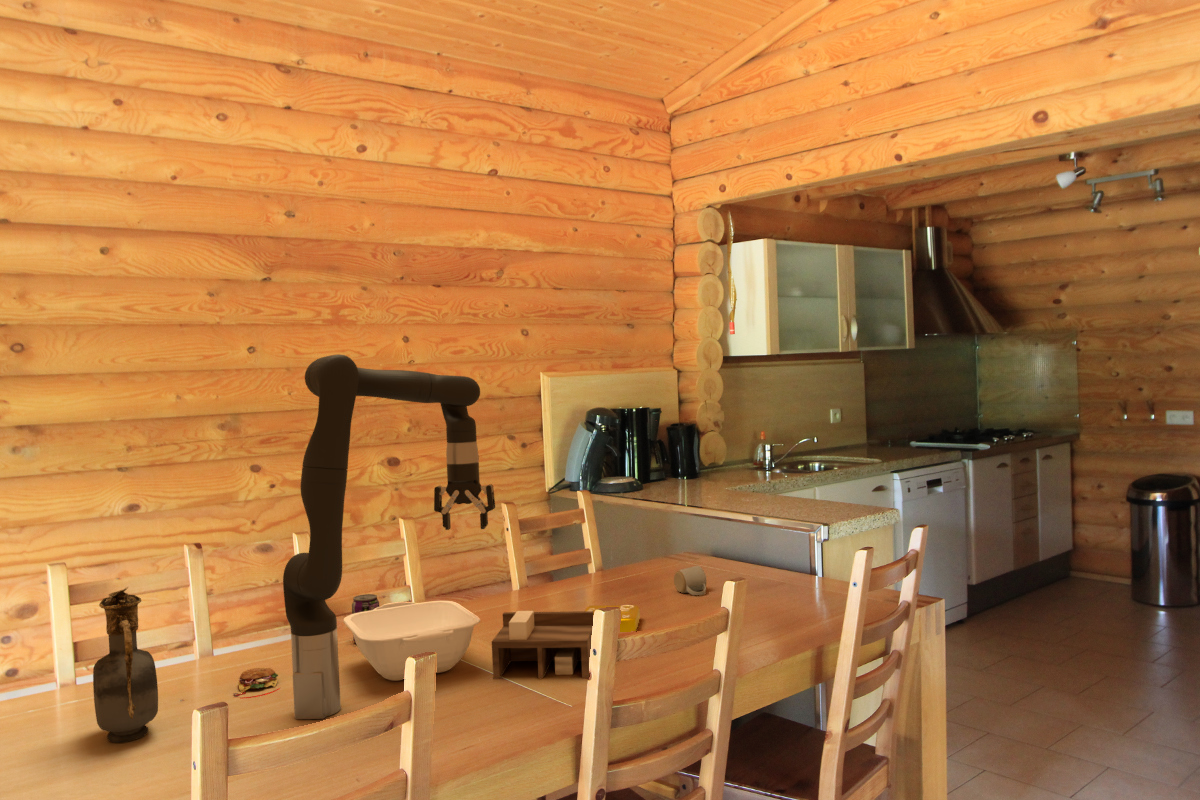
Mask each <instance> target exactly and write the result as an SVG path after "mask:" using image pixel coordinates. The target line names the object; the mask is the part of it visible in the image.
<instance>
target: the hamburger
mask: <svg viewBox="0 0 1200 800" xmlns="http://www.w3.org/2000/svg"><path fill="white" fill-rule="evenodd" d="M277 677H279V674H278V673H276V672H275V670H274V669H273V668H271V667H261V668H260V667H256V668H255V667H253V668H250V669H247V670H245V671H243V672H242V673H240V676H239V677H238V679H239V680H238V682H237V685H238V689H239V691H240V693H237V692H235V693H233V694H234V695H235V696H234V695H233V696H234V697H239V698H240V699H243V700H244V699H252V698H257V697H258V698H259V697H262V696H266V695H269V694H272V693H275V692H278V691H279V690H280V689H281V687H278V688H276V685H277V684H278V683H277V682H278V678H277ZM270 686H272V687H274V688H276V689H274V690H272V691H270V692H267V693H262V694H258V695H252V696H245V695H246V694H247V690H258V689H264V688H268V687H270ZM243 692H244V693H243ZM241 693H242V694H241ZM242 695H244V696H243V697H240V696H242ZM240 699H239V700H240Z"/></svg>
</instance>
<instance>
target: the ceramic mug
mask: <svg viewBox="0 0 1200 800" xmlns="http://www.w3.org/2000/svg"><path fill="white" fill-rule="evenodd" d="M673 583H674V587H675V588H676V590H677V591H678V592H679V593H680V592H681V594H687V593H688V594H690V595H692V596H694V595H702V596H705V594H706V592H707V575H706V572H705V571H704V569H703V568H702V566H700V565H694V566H690V567H686V568H681V569H679V570H676V571H675V573H674V575H673Z"/></svg>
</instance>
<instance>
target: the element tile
mask: <svg viewBox="0 0 1200 800" xmlns="http://www.w3.org/2000/svg"><path fill="white" fill-rule="evenodd" d="M606 607H619V608H620V610H621V624H620V632H631V631H638V629H637V627H638V628H639V626H638V623H639V624H640V622H639V619H640V620H641V614H640V613H641V610H640V606H638V605H637V604H632V605H631V604H624V605H623V604H621V605H620V604H616V605H614V604H613V605H611V604H610V605H606V604H605V605H589V606H587V607H585V609H584V611H593V612H594V610H595V609H598V608H606ZM636 629H637V630H636Z"/></svg>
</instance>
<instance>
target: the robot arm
mask: <svg viewBox="0 0 1200 800" xmlns="http://www.w3.org/2000/svg"><path fill="white" fill-rule="evenodd" d="M304 382H305V385H306V387H307V389H308V390H309V392H311V394H313V395H315V396H317V397H318V406H317V407H318V408H317V409H318V410H317V418H316V422H315V426H314V429H313V430H312V433H311V436H310V438H309V441H308V444H307V447H306V449H305V451H304V455H303V460H302V464H301V465H302V467H301V476H300V477H301V478H300V495H301V500H302V503H303V508H304V510H305V511H304V512H305V513H306V518H307V520H308V524H309V525H308V526H309V548H308V552H300V553H297V554H295V555H293V556H292V557H291V558H290V559H289V560H288V561H287V563H286V565H285V567H284V570H283V575H282V576H283V577H282V588H283V597H284V599H283V601H284V609H285V617H286V619H287V622H288V623H289V626H290V639H291V641H290V643H291V644H290V645H291V662H292V663H291V664H292V689H293V707H294V708H293V711H294V713H293V714H294V719H295V720H324V719H325V718H327V717H330V716H332V715H334V714H336V713H338V712H340V710H341V709H342V708H341V704H342V703H341V687H340V686H341V685H340V684H341V683H340V665H339V664H340V663H339V647H338V646H339V643H338V642H339V641H338V623H337V622H338V621H337V620H338V619H337V616H336V614H335V612H334V611H333V610H332V609H331V608H330V607H329V606H328V603H327V602H326V600H329V599H331V598H332V597H333V596H334V595H335V594H336V592H337V591H338V589H339V587H340V585H341V582H342V577H343V522H344V511H345V510H344V508H345V497H346V496H345V495H346V490H347V489H346V488H347V483H348V482H347V480H348V467H349V452H350V443H351V441H350V440H351V429H352V428H351V427H352V421H353V420H352V419H353V413H354V407H355V404H356V403H355V402H356V398H357V397H370V398H372V397H373V398H378V399H379V398H381V399H388V400H395V401H402V402H410V403H419V404H420V403H421V404H422V403H423V404H435V403H436V404H440V407H441V408H440V409H441V412H442V416H443V419H444V422H445V426H446V430H445V431H446V434H445V435H446V449H445V450H446V453H445V454H446V476H447V484H446V485H447V486H442V485H437V486H435V487H434V491H433V493H434V494H433V495H434V496H433V511H434V512H436V513H439V514H440V513H441V517H442V526H443V528H445V530H446V531H449V530H451V513H450V511H451V510H452V508H453V506H454V505H455V504H457V505H462V504H465V505H471V504H473V505H474V507H476V508H477V509H478V510H479V511H480V513H479V518H480V520H479V523H480V530H485V529H486V528H487V527H488V525H489V516H488V513H489V512H492V511H493V510H495V508H496V501H495V489H494V485H493V484H492V483H491V484H486V485H485V484H484V485H481V481H480V462H479V461H480V456H479V447H478V441H477V424H476V423H477V422H476V421H475V419H474V418H473V417H472V416H470V414H469V413H468V412H469V411H468V407H469V406H472V405H474V404H475V403H476V402H478V400H479V398H480V396H481V389H480V385H479V383H478V382H477V381H476V380H475V379H473V378H472V377H469V376H464V375H463V376H462V375H447V374H446V375H445V374H442V375H441V374H435V373H432V372H431V373H430V372H424V371H416V370H403V369H402V370H401V369H398V370H397V369H374V368H373V369H372V368H364V367H358V366H357V364H356V363H355V361H354V360H353V359H352V358H351V357H350V356H347V355H345V354H332V355H326V356H323V357H319V358H317V359H315V360H314V361H312V362H311V363H310V364H309V365H308V366H307V368H306V370H305V374H304ZM482 491H483V494H485V495H486V498H487V499H486V502H487V505H486V504H485V503H484V501H483V499H482V497H480V496H479V495H480V494H481V492H482ZM445 493H447V494H448V496H449V497H450V498H449V499H448V500H447V502H446V503H445V505H444V506H443V496H444V495H445Z"/></svg>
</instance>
